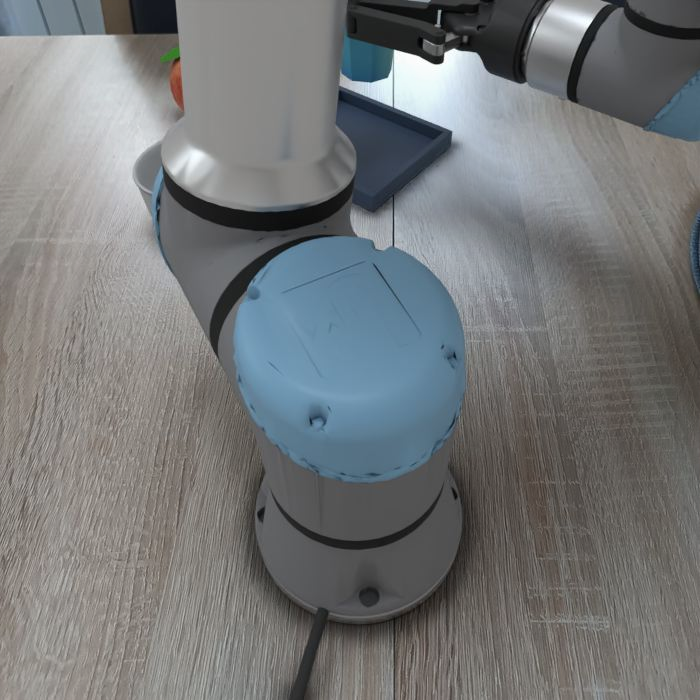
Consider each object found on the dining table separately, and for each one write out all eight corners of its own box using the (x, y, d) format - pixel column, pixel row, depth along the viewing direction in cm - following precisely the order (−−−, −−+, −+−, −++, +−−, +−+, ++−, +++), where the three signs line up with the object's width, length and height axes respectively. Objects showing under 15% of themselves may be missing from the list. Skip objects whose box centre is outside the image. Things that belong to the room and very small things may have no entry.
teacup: (233, 260, 68) (219, 198, 62) (135, 248, 69) (112, 186, 63) (270, 179, 76) (261, 117, 70) (182, 170, 78) (166, 108, 72)
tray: (372, 212, 72) (372, 197, 71) (257, 155, 79) (255, 140, 78) (451, 146, 80) (452, 130, 78) (339, 100, 87) (339, 85, 85)
